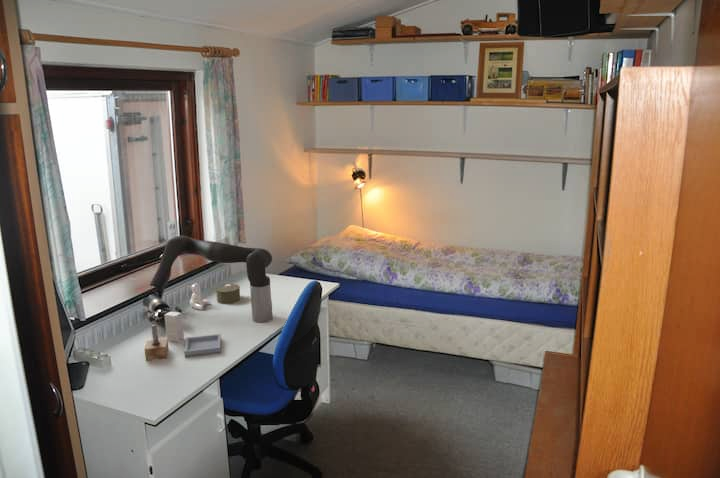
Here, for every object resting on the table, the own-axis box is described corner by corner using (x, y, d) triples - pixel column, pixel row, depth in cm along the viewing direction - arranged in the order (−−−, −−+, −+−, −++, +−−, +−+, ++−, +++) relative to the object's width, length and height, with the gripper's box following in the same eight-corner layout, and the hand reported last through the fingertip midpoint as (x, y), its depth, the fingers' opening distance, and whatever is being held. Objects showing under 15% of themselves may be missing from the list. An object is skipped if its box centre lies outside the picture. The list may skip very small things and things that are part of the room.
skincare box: (184, 338, 244) (182, 312, 241) (178, 342, 240) (175, 316, 237) (172, 336, 246) (170, 311, 243) (166, 340, 242) (163, 314, 239)
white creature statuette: (201, 310, 276) (199, 287, 273) (185, 309, 277) (183, 286, 274) (210, 303, 285) (208, 281, 282) (195, 302, 286) (192, 280, 283)
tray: (220, 339, 243) (220, 333, 242) (220, 353, 230) (220, 347, 229) (187, 342, 240) (186, 337, 239) (184, 357, 226) (184, 351, 226)
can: (216, 305, 282) (215, 292, 281) (217, 297, 294) (216, 284, 292) (240, 303, 285) (239, 290, 283) (240, 295, 296) (239, 282, 294)
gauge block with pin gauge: (168, 349, 233) (165, 320, 230) (166, 358, 226) (163, 328, 223) (148, 352, 232) (144, 322, 228) (145, 360, 224) (142, 330, 221)
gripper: (142, 303, 258) (151, 314, 244) (173, 297, 265) (184, 307, 252) (144, 319, 259) (153, 330, 246) (175, 312, 267) (185, 323, 254)
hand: (168, 319), depth 249 cm, fingers open, 8 cm apart
